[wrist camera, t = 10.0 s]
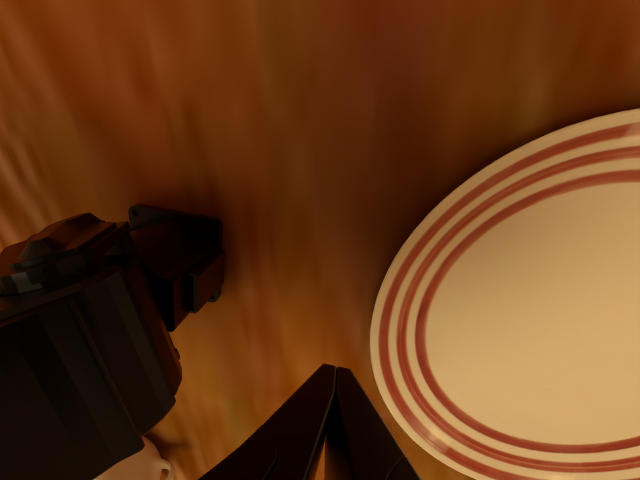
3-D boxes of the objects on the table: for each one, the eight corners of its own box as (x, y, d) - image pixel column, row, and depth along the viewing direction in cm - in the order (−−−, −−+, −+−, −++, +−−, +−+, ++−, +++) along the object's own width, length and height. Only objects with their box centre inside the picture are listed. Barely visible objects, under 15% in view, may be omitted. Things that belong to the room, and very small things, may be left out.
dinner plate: (654, 503, 27) (691, 553, 24) (330, 410, 28) (325, 447, 25) (982, 177, 17) (1122, 192, 14) (452, 49, 18) (470, 35, 15)
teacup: (121, 476, 35) (80, 537, 30) (85, 423, 32) (34, 479, 27) (205, 471, 33) (176, 535, 28) (174, 413, 30) (136, 472, 25)
